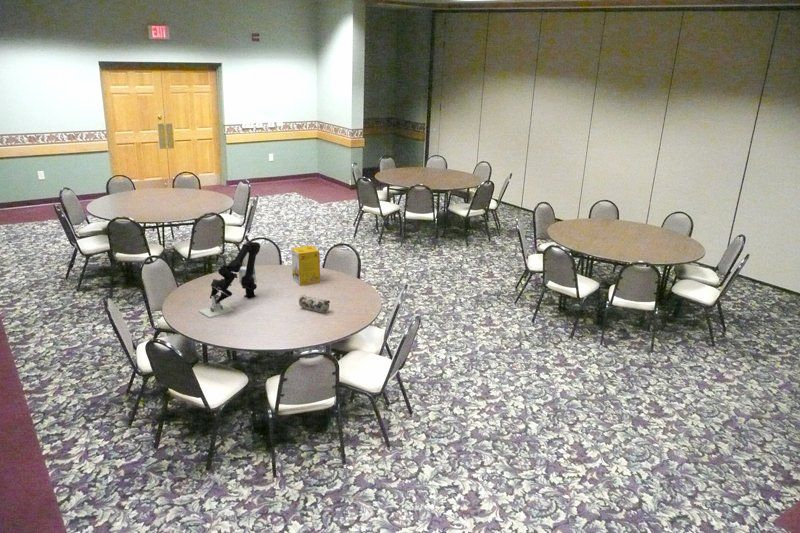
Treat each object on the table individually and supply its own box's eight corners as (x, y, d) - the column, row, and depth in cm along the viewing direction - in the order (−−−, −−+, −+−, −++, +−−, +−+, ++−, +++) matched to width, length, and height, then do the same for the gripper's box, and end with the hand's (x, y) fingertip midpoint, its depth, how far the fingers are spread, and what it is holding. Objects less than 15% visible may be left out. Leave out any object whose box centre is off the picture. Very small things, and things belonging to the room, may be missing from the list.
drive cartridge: (220, 310, 385) (219, 296, 382) (215, 311, 383) (213, 297, 379) (218, 308, 388) (216, 294, 384) (212, 310, 385) (211, 296, 382)
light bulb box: (256, 280, 442) (255, 266, 439) (253, 283, 436) (252, 269, 433) (242, 279, 443) (241, 265, 440) (239, 282, 437) (238, 268, 433)
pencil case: (331, 311, 390) (330, 297, 387) (323, 315, 383) (323, 301, 379) (304, 304, 399) (304, 291, 396) (297, 308, 392) (296, 295, 389)
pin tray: (234, 310, 387) (234, 305, 386) (209, 318, 375) (209, 313, 374) (223, 304, 396) (223, 300, 395) (199, 312, 384) (198, 307, 383)
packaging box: (292, 279, 446) (291, 247, 438) (312, 275, 453) (311, 245, 445) (299, 285, 432) (298, 253, 424) (320, 282, 440) (319, 251, 431)
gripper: (212, 270, 386) (198, 290, 382) (226, 278, 374) (212, 298, 370) (223, 279, 394) (210, 298, 390) (238, 286, 382) (224, 306, 378)
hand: (213, 300), depth 382 cm, fingers open, 9 cm apart
